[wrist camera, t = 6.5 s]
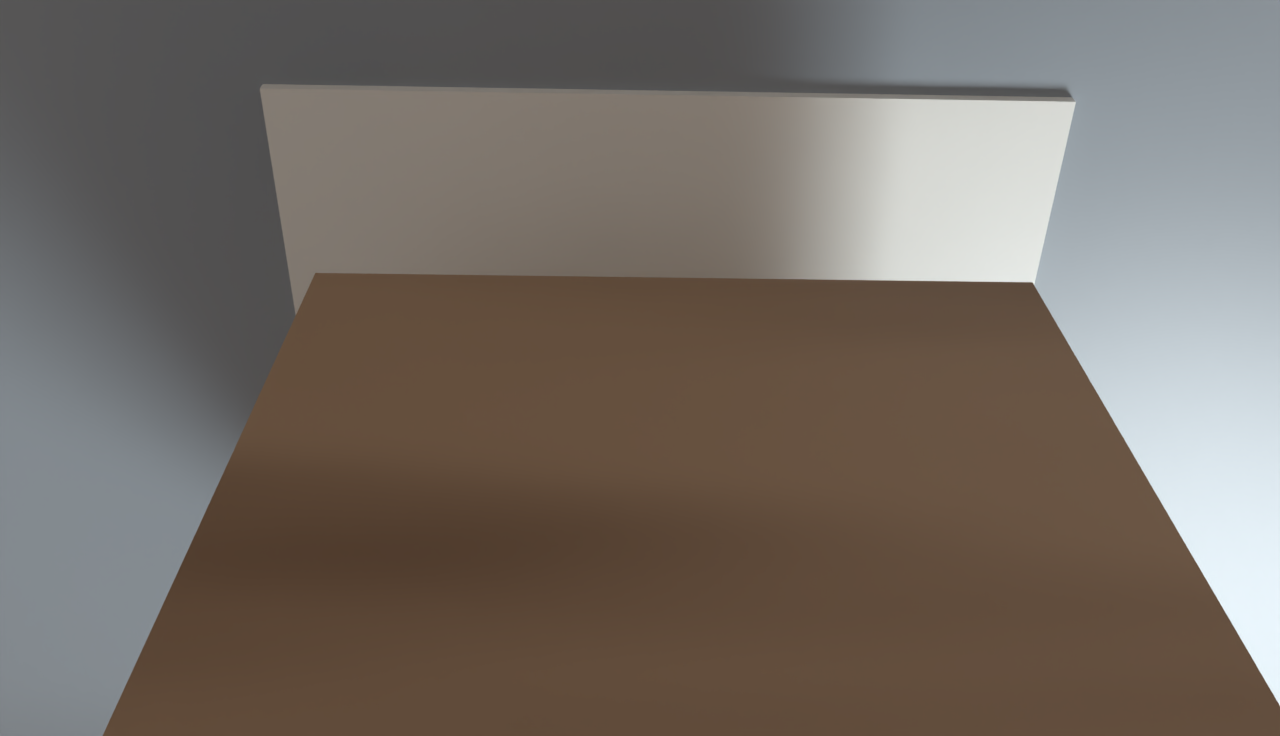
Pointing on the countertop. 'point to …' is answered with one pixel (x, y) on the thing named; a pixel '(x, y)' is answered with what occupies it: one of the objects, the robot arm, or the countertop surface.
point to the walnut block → (685, 525)
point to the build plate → (600, 230)
